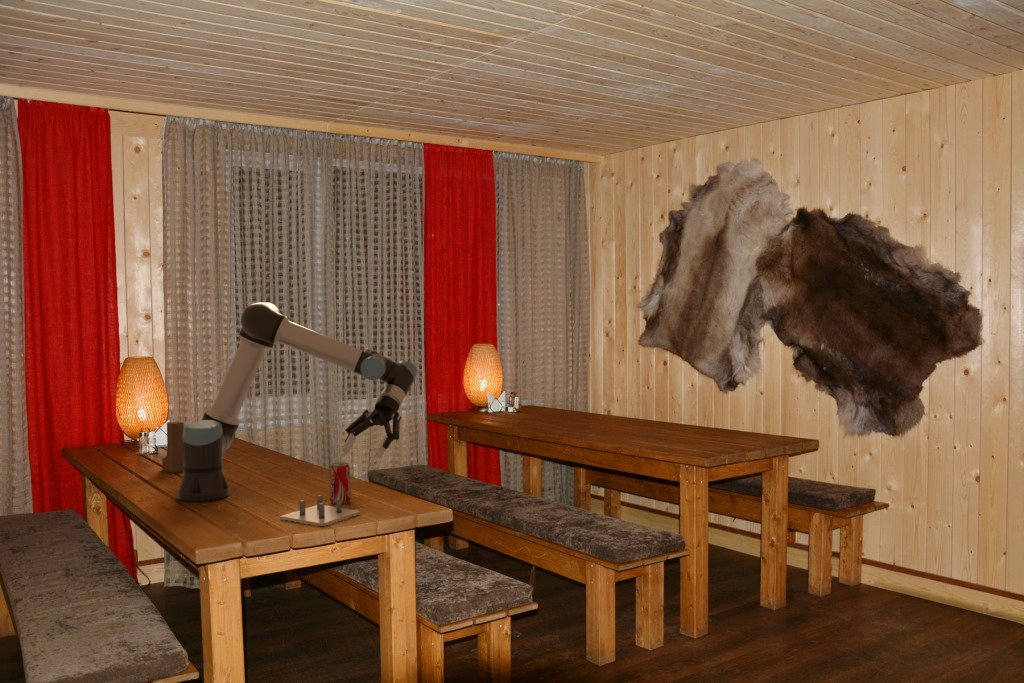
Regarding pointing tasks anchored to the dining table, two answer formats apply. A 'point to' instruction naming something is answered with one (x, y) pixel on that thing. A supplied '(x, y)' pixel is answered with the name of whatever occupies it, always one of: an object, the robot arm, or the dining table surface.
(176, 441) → the wooden block
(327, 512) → the base plate
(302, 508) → the standoff pins
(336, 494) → the soda can
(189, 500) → the robot arm
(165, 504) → the dining table surface
